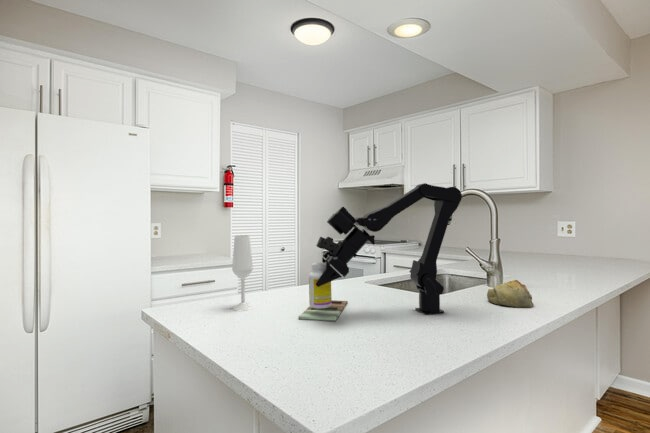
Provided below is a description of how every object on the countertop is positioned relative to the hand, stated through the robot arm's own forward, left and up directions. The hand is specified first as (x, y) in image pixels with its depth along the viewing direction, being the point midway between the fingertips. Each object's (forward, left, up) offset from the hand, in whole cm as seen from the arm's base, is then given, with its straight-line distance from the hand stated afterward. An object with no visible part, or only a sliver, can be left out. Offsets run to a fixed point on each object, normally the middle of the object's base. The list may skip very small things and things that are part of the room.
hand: (315, 283), depth 110 cm
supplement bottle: (0, -1, -7) cm, 7 cm away
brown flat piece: (+5, -5, -10) cm, 12 cm away
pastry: (-8, -65, -10) cm, 67 cm away
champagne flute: (+19, +20, -10) cm, 29 cm away
